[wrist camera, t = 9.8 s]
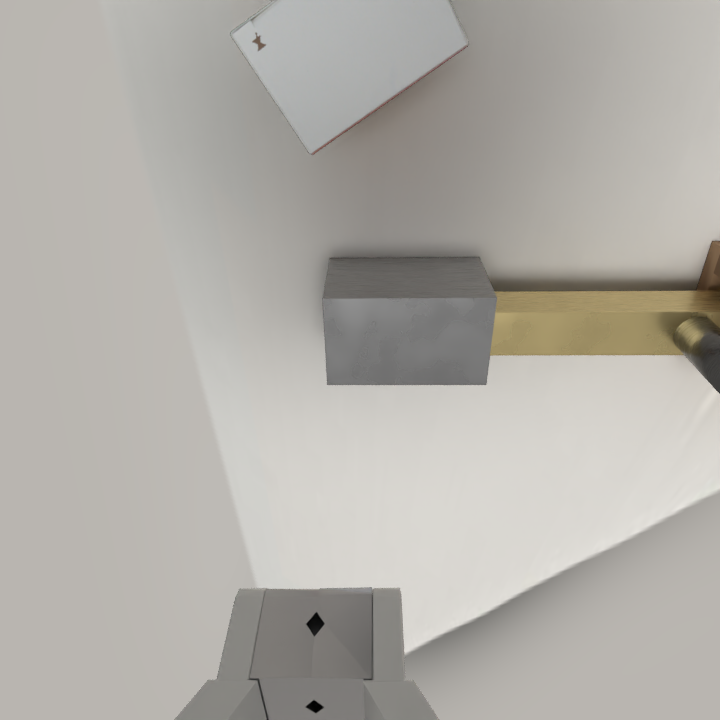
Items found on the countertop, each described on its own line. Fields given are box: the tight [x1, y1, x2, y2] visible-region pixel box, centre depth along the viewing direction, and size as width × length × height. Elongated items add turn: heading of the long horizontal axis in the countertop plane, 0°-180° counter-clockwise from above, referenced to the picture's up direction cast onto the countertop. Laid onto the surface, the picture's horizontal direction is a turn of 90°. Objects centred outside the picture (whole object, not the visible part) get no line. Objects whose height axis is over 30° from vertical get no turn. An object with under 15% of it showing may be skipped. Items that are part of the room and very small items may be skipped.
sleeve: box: [323, 257, 497, 385], centre depth 36 cm, size 6×10×6 cm, turn 91°
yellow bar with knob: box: [490, 291, 720, 393], centre depth 33 cm, size 3×20×8 cm, turn 91°
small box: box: [230, 0, 469, 155], centre depth 26 cm, size 8×6×10 cm
